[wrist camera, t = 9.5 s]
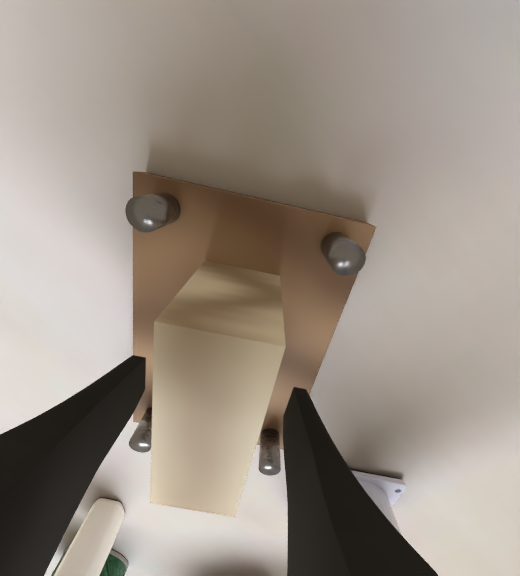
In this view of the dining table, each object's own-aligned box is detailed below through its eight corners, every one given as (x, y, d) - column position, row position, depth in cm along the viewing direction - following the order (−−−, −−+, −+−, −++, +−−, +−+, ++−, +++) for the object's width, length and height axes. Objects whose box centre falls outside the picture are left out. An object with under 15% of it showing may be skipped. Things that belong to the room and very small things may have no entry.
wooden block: (280, 275, 13) (285, 346, 7) (247, 407, 17) (235, 517, 11) (205, 260, 13) (154, 321, 7) (189, 397, 17) (149, 503, 11)
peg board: (285, 434, 20) (288, 484, 16) (141, 407, 19) (115, 453, 16) (367, 223, 13) (398, 237, 10) (145, 172, 12) (100, 169, 9)
